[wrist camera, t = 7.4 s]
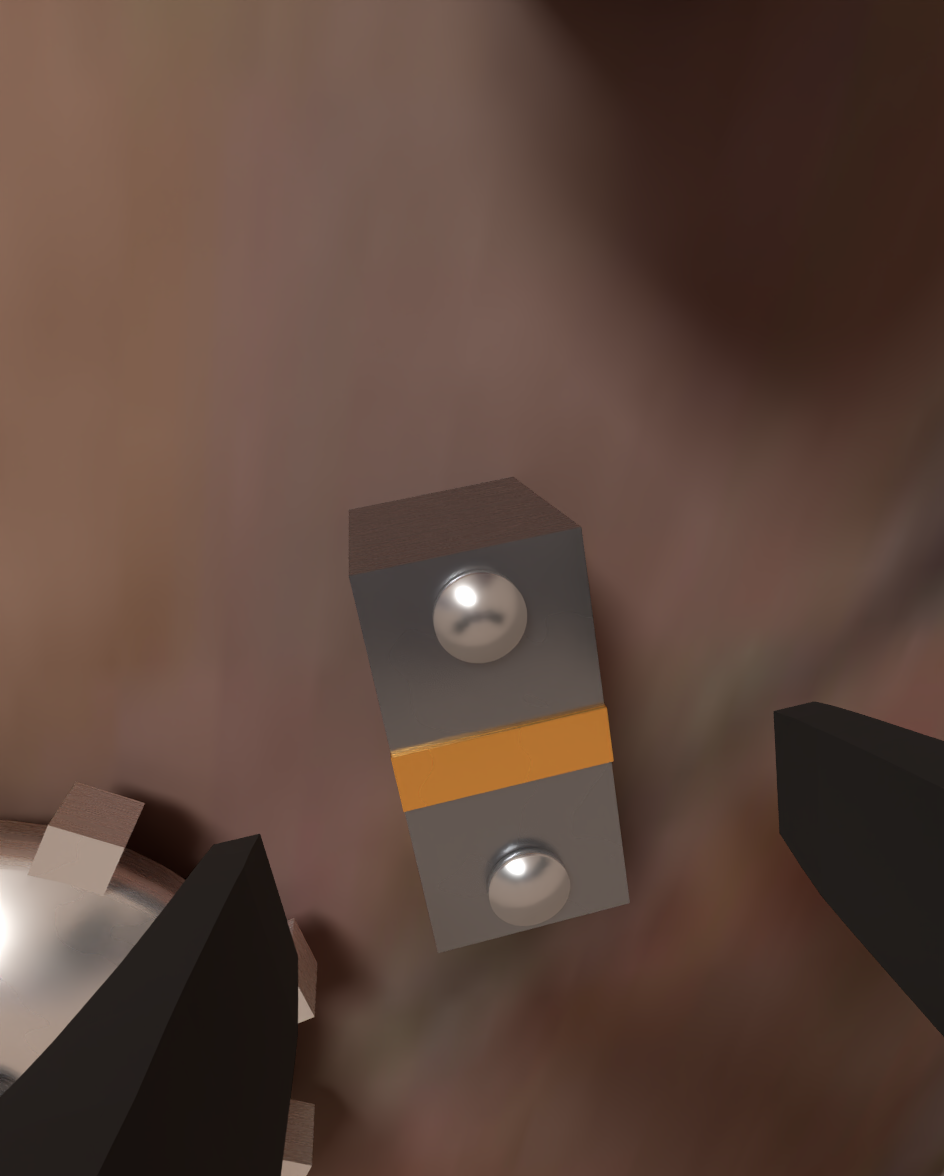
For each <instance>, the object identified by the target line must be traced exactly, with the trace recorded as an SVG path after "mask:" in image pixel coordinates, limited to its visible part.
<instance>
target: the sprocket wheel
mask: <svg viewBox="0 0 944 1176" xmlns="http://www.w3.org/2000/svg"><path fill="white" fill-rule="evenodd" d="M144 804H145V803H143V802H140V801H137V800H133V799H130V798H127V797H124V796H121V795H118V794H114V793H111V792H108V791H105V790H102V789H99V788H95V787H92V786H89V785H86V784H83V783H80V782H75V784H74V785H73V787H72V788H71V790H70V792H69V793H68V795H67V796H66V798H65V799H64V801H63V802H62V804H61V806H60V807H59V809H58V810H57V812H56V813H55V815H54V816H53V818H52V820H51V821H50V823H49V824H48V825H41V824H33V823H25V822H18V821H10V820H0V1096H1V1095H2V1094H3V1093H4V1092H5V1091H6V1090H7V1089H8V1088H9V1087H10V1086H11V1085H12V1084H13V1083H14V1082H15V1081H16V1080H17V1079H18V1078H19V1077H20V1076H21V1075H22V1074H23V1073H24V1072H25V1071H26V1070H27V1069H28V1068H29V1067H30V1066H31V1065H32V1063H33V1062H34V1061H35V1060H36V1059H37V1058H38V1057H39V1056H40V1055H41V1054H42V1053H43V1052H44V1051H45V1050H46V1048H47V1047H48V1046H49V1045H50V1044H51V1043H52V1042H53V1041H54V1040H55V1039H56V1038H57V1036H58V1035H59V1034H60V1033H61V1032H62V1031H63V1029H64V1028H65V1027H66V1026H67V1025H68V1024H69V1023H70V1021H71V1020H72V1019H73V1018H74V1017H75V1016H76V1014H77V1013H78V1012H79V1011H80V1010H81V1009H82V1007H83V1006H84V1005H85V1004H86V1003H87V1002H88V1000H89V999H90V998H91V997H92V996H93V995H94V993H95V992H96V991H97V990H98V989H99V988H100V987H101V985H102V984H103V983H104V982H105V981H106V980H107V978H108V977H109V976H110V975H111V974H112V973H113V971H114V970H115V969H116V968H117V967H118V966H119V964H120V963H121V962H122V961H123V959H124V958H125V957H126V956H127V954H128V953H129V952H130V951H131V949H132V948H133V947H134V946H135V944H136V943H137V942H138V941H139V939H140V938H141V937H142V935H143V934H144V933H145V932H146V930H147V929H148V928H149V927H150V925H151V924H152V923H153V922H154V920H155V919H156V918H157V916H158V915H159V914H160V913H161V911H162V910H163V909H164V908H165V906H166V905H167V904H168V902H169V901H170V900H171V898H172V897H173V896H174V895H175V893H176V892H177V891H178V889H179V888H180V887H181V885H182V884H183V883H184V881H185V879H184V878H182V877H181V876H179V875H177V874H176V873H174V872H173V871H171V870H170V869H168V868H167V867H165V866H163V865H161V864H159V863H157V862H155V861H153V860H151V859H149V858H147V857H145V856H143V855H141V854H139V853H137V852H135V851H133V850H131V849H128V848H125V847H126V845H127V843H128V841H129V838H130V836H131V834H132V832H133V829H134V827H135V825H136V822H137V820H138V818H139V816H140V813H141V811H142V809H143V807H144ZM287 922H288V925H289V929H290V932H291V935H292V938H293V941H294V945H295V948H296V951H297V954H298V1023H300V1022H303V1021H306V1020H308V1019H311V1018H313V1017H315V1001H316V982H317V961H316V959H315V957H314V955H313V954H312V952H311V950H310V948H309V946H308V944H307V942H306V940H305V938H304V936H303V934H302V932H301V930H300V928H299V926H298V924H297V922H296V921H295V919H294V918H293V919H290V920H287ZM314 1109H315V1104H312V1103H307V1102H303V1101H298V1100H294V1099H290V1106H289V1114H288V1123H287V1131H286V1139H285V1147H284V1155H283V1163H282V1171H281V1176H306V1175H307V1174H308V1172H309V1170H310V1168H311V1166H312V1152H313V1131H314Z"/></svg>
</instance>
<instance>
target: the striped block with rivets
mask: <svg viewBox="0 0 944 1176" xmlns="http://www.w3.org/2000/svg"><path fill="white" fill-rule="evenodd" d="M349 578H350V582H351V587H352V591H353V595H354V599H355V604H356V608H357V612H358V616H359V620H360V625H361V629H362V633H363V637H364V642H365V646H366V650H367V654H368V659H369V663H370V667H371V671H372V675H373V680H374V684H375V688H376V692H377V697H378V701H379V705H380V709H381V714H382V718H383V722H384V726H385V731H386V735H387V739H388V743H389V747H390V754H391V760H392V765H393V769H394V773H395V777H396V782H397V786H398V790H399V794H400V798H401V803H402V807H403V811H404V812H405V815H406V819H407V824H408V828H409V832H410V836H411V841H412V845H413V849H414V853H415V858H416V862H417V866H418V870H419V874H420V879H421V883H422V887H423V891H424V896H425V900H426V904H427V908H428V913H429V917H430V921H431V925H432V929H433V934H434V938H435V942H436V946H437V951H438V953H441V952H445V951H449V950H452V949H456V948H460V947H464V946H468V945H472V944H475V943H479V942H483V941H487V940H491V939H494V938H498V937H502V936H506V935H510V934H514V933H517V932H521V931H525V930H529V929H533V928H537V927H540V926H544V925H548V924H552V923H556V922H560V921H563V920H567V919H571V918H575V917H579V916H582V915H586V914H590V913H594V912H598V911H602V910H605V909H609V908H613V907H617V906H621V905H625V904H628V903H630V901H629V893H628V885H627V878H626V870H625V862H624V854H623V847H622V839H621V831H620V824H619V816H618V808H617V800H616V793H615V785H614V777H613V769H612V762H613V761H614V760H613V752H612V744H611V737H610V729H609V721H608V713H607V707H606V706H605V705H604V700H603V692H602V684H601V676H600V669H599V661H598V653H597V645H596V638H595V630H594V622H593V614H592V607H591V599H590V591H589V583H588V576H587V568H586V560H585V552H584V545H583V537H582V529H581V527H580V526H579V525H578V524H576V523H575V522H574V521H572V520H571V519H570V518H568V517H567V516H566V515H564V514H563V513H561V512H560V511H559V510H557V509H556V508H555V507H553V506H552V505H551V504H549V503H548V502H547V501H545V500H544V499H542V498H541V497H540V496H538V495H537V494H536V493H534V492H533V491H532V490H530V489H529V488H528V487H526V486H525V485H523V484H522V483H521V482H519V481H518V480H517V479H515V478H514V477H510V478H505V479H500V480H495V481H491V482H486V483H481V484H476V485H471V486H466V487H461V488H456V489H451V490H446V491H441V492H436V493H431V494H426V495H421V496H416V497H411V498H406V499H401V500H396V501H391V502H386V503H381V504H376V505H371V506H366V507H362V508H357V509H352V510H349Z"/></svg>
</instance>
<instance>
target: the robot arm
mask: <svg viewBox="0 0 944 1176" xmlns="http://www.w3.org/2000/svg"><path fill="white" fill-rule="evenodd" d="M774 729H775V749H776V770H777V790H778V810H779V831H780V835H781V836H782V838H783V839H784V841H785V842H786V844H787V845H788V847H789V849H790V850H791V852H792V853H793V855H794V856H795V858H796V859H797V861H798V863H799V864H800V866H801V867H802V869H803V870H804V871H805V873H806V874H807V876H808V877H809V879H810V880H811V882H812V883H813V885H814V886H815V887H816V889H817V890H818V892H819V893H820V895H821V896H822V897H823V898H824V900H825V901H826V902H827V903H828V904H829V905H830V907H831V908H832V909H833V910H834V911H835V913H836V914H837V915H838V916H839V917H840V918H841V920H842V921H843V922H844V923H845V924H846V925H847V927H848V928H849V929H850V930H851V931H852V932H853V934H854V935H855V936H856V937H857V938H858V939H859V940H860V942H861V943H862V944H863V945H864V946H865V947H866V949H867V950H868V951H869V952H870V953H871V954H872V955H873V957H874V958H875V959H876V960H877V961H878V962H879V963H880V965H881V966H882V967H883V968H884V969H885V970H886V971H887V973H888V974H889V975H890V976H891V977H892V978H893V979H894V980H895V982H896V983H897V984H898V985H899V986H900V987H901V988H902V990H903V991H904V992H905V993H906V994H907V995H908V996H909V998H910V999H911V1000H912V1001H913V1002H914V1003H915V1004H916V1006H917V1007H918V1008H919V1009H920V1010H921V1011H922V1012H923V1014H924V1015H925V1016H926V1017H927V1018H928V1019H929V1020H930V1022H931V1023H932V1024H933V1025H934V1026H935V1027H936V1028H937V1030H938V1031H939V1032H940V1033H941V1034H942V1035H943V1036H944V741H942V740H939V739H936V738H933V737H929V736H926V735H923V734H920V733H917V732H914V731H911V730H908V729H905V728H902V727H899V726H896V725H893V724H890V723H887V722H884V721H881V720H878V719H875V718H871V717H868V716H865V715H862V714H859V713H855V712H852V711H849V710H845V709H842V708H839V707H835V706H831V705H827V704H823V703H819V702H810V703H806V704H802V705H798V706H794V707H789V708H785V709H781V710H777V711H774ZM297 1037H298V954H297V951H296V948H295V945H294V941H293V938H292V935H291V932H290V929H289V925H288V922H287V919H286V916H285V912H284V909H283V906H282V903H281V900H280V896H279V893H278V890H277V887H276V884H275V880H274V877H273V874H272V871H271V868H270V864H269V861H268V858H267V855H266V852H265V848H264V845H263V842H262V839H261V836H260V834H257V835H253V836H248V837H244V838H240V839H236V840H232V841H227V842H223V843H219V844H215V845H213V846H212V847H211V848H210V850H209V851H208V852H207V853H206V854H205V856H204V857H203V858H202V859H201V861H200V862H199V863H198V865H197V866H196V867H195V868H194V870H193V871H192V872H191V874H190V875H189V876H188V877H187V879H186V880H185V881H184V883H183V884H182V885H181V887H180V888H179V889H178V891H177V892H176V893H175V895H174V896H173V897H172V898H171V900H170V901H169V902H168V904H167V905H166V906H165V908H164V909H163V910H162V911H161V913H160V914H159V915H158V916H157V918H156V919H155V920H154V922H153V923H152V924H151V925H150V927H149V928H148V929H147V930H146V932H145V933H144V934H143V935H142V937H141V938H140V939H139V941H138V942H137V943H136V944H135V946H134V947H133V948H132V949H131V951H130V952H129V953H128V954H127V956H126V957H125V958H124V959H123V961H122V962H121V963H120V964H119V966H118V967H117V968H116V969H115V970H114V971H113V973H112V974H111V975H110V976H109V977H108V978H107V980H106V981H105V982H104V983H103V984H102V985H101V987H100V988H99V989H98V990H97V991H96V992H95V993H94V995H93V996H92V997H91V998H90V999H89V1000H88V1002H87V1003H86V1004H85V1005H84V1006H83V1007H82V1009H81V1010H80V1011H79V1012H78V1013H77V1014H76V1016H75V1017H74V1018H73V1019H72V1020H71V1021H70V1023H69V1024H68V1025H67V1026H66V1027H65V1028H64V1029H63V1031H62V1032H61V1033H60V1034H59V1035H58V1036H57V1038H56V1039H55V1040H54V1041H53V1042H52V1043H51V1044H50V1045H49V1046H48V1047H47V1048H46V1050H45V1051H44V1052H43V1053H42V1054H41V1055H40V1056H39V1057H38V1058H37V1059H36V1060H35V1061H34V1062H33V1063H32V1065H31V1066H30V1067H29V1068H28V1069H27V1070H26V1071H25V1072H24V1073H23V1074H22V1075H21V1076H20V1077H19V1078H18V1079H17V1080H16V1081H15V1082H14V1083H13V1084H12V1085H11V1086H10V1087H9V1088H8V1089H7V1090H6V1091H5V1092H4V1093H3V1094H2V1095H1V1096H0V1176H281V1171H282V1163H283V1155H284V1147H285V1139H286V1131H287V1123H288V1114H289V1106H290V1098H291V1090H292V1081H293V1072H294V1064H295V1055H296V1046H297Z"/></svg>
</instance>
